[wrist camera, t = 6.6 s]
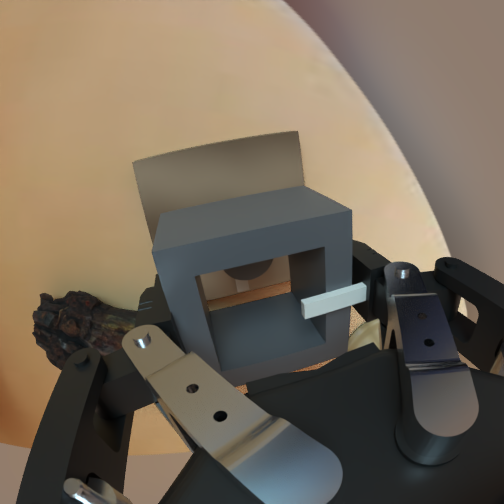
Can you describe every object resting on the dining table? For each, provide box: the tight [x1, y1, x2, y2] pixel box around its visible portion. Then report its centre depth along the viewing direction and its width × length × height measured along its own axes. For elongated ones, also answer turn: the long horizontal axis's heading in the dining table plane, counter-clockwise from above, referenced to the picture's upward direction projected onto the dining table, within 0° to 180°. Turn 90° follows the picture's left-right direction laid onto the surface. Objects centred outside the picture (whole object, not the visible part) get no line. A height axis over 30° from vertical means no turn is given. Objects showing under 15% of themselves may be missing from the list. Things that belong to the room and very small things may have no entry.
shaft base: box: [132, 131, 304, 301], centre depth 17 cm, size 10×10×6 cm
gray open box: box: [152, 185, 367, 387], centre depth 11 cm, size 6×6×4 cm
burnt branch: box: [33, 291, 137, 370], centre depth 19 cm, size 18×7×6 cm, turn 74°
